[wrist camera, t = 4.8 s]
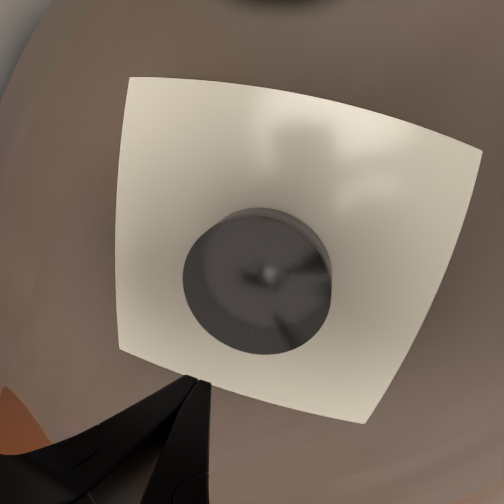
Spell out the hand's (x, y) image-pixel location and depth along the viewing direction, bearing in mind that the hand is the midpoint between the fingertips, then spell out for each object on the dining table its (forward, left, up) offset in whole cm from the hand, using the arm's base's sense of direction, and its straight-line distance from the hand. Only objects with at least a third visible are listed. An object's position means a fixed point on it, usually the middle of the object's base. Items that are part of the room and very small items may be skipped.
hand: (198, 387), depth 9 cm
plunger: (0, 0, -12) cm, 12 cm away
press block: (0, 0, -12) cm, 12 cm away
